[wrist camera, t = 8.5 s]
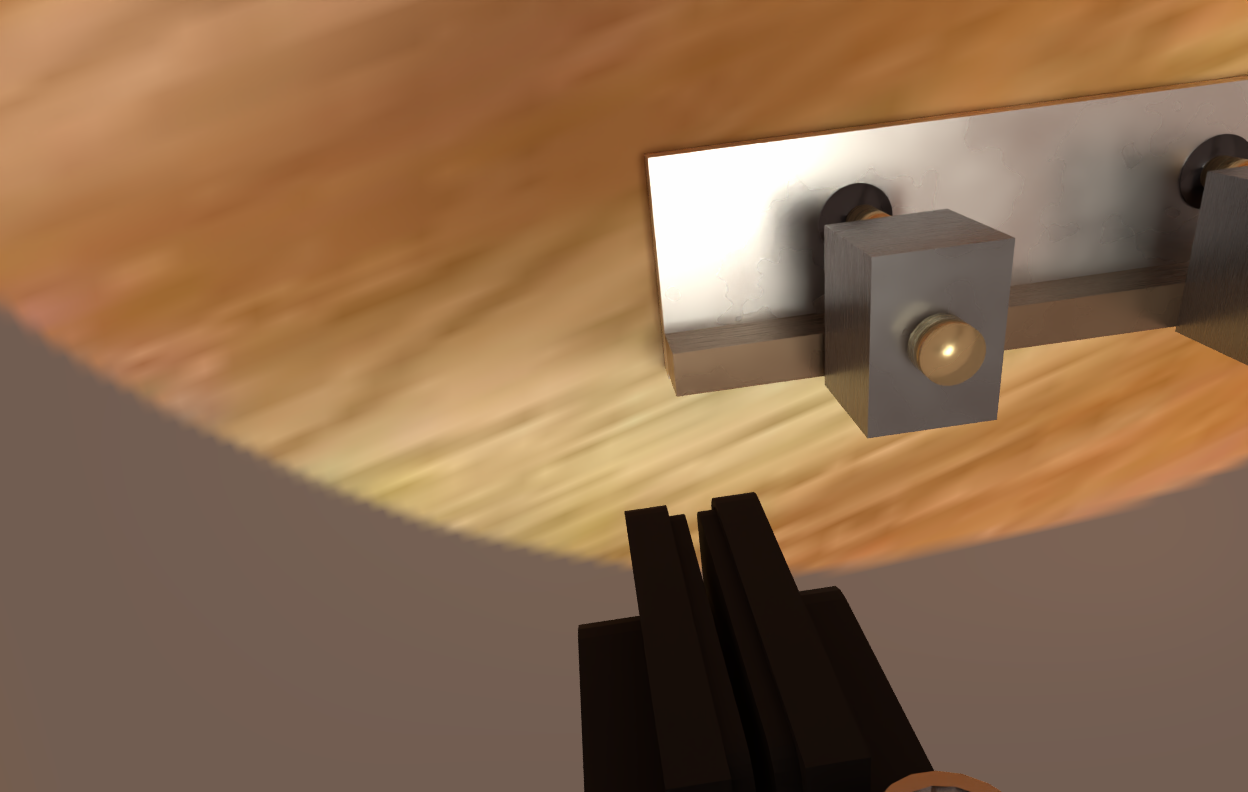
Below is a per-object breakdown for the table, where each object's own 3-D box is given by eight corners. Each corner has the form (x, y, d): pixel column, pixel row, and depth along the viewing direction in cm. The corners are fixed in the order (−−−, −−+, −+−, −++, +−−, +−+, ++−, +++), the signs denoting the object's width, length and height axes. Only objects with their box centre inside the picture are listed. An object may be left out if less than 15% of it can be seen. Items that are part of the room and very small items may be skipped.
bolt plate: (1321, 65, 27) (1554, 74, 21) (1266, 284, 31) (1453, 349, 24) (644, 153, 27) (674, 190, 20) (665, 368, 30) (696, 457, 24)
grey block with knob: (920, 196, 27) (1036, 247, 20) (912, 347, 29) (1014, 435, 23) (805, 212, 27) (886, 267, 20) (807, 363, 29) (880, 454, 23)
